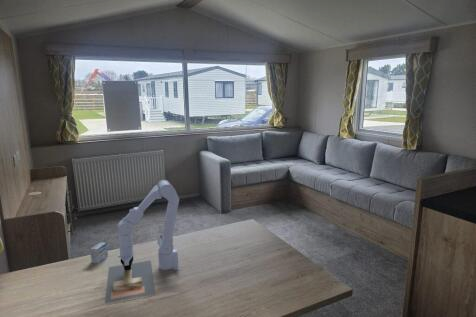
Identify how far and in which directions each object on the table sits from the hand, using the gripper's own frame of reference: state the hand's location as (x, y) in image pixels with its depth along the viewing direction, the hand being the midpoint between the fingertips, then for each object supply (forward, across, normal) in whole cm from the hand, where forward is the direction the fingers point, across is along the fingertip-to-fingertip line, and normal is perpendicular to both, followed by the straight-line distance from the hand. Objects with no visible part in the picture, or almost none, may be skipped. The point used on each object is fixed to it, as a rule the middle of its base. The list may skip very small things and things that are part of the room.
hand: (128, 271), depth 148 cm
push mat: (+2, +5, +1) cm, 6 cm away
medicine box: (+2, -19, -14) cm, 24 cm away
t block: (+1, +8, 0) cm, 8 cm away
